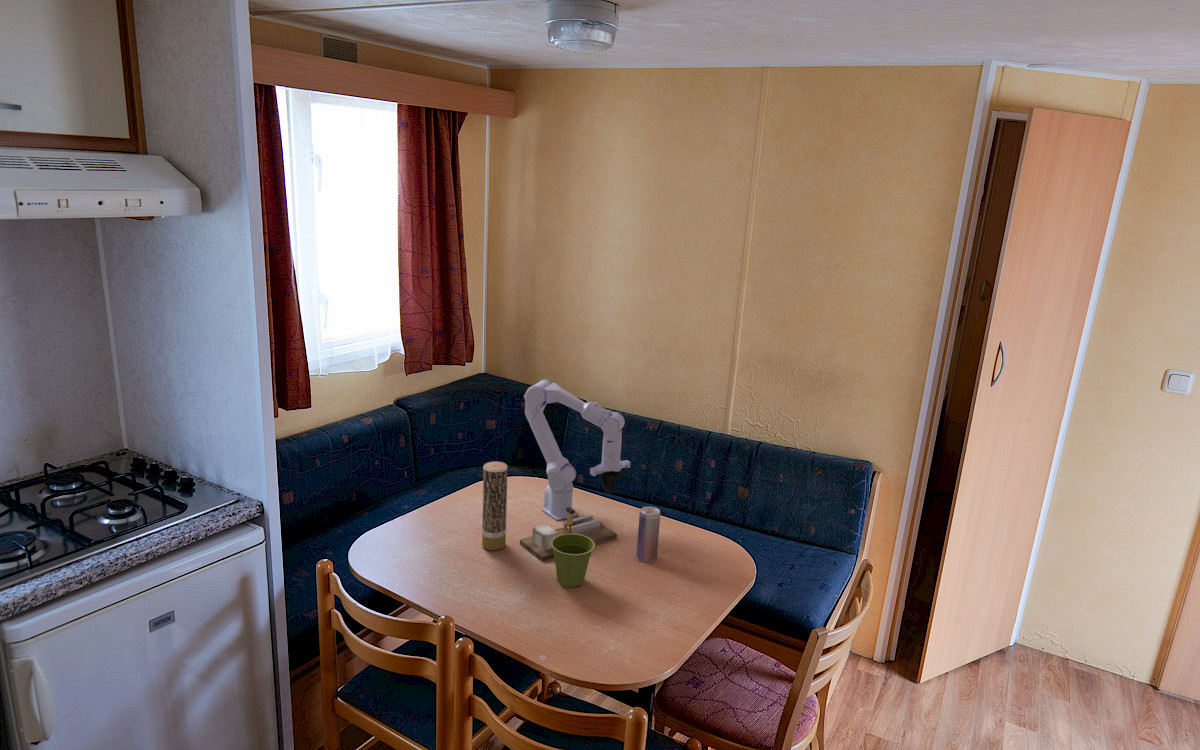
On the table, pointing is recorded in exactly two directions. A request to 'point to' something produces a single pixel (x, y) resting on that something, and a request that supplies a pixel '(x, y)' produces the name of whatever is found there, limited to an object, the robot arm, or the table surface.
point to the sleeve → (584, 525)
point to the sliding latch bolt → (569, 522)
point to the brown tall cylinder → (494, 505)
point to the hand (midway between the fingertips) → (608, 492)
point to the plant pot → (572, 558)
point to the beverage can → (648, 534)
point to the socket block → (543, 536)
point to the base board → (548, 554)
